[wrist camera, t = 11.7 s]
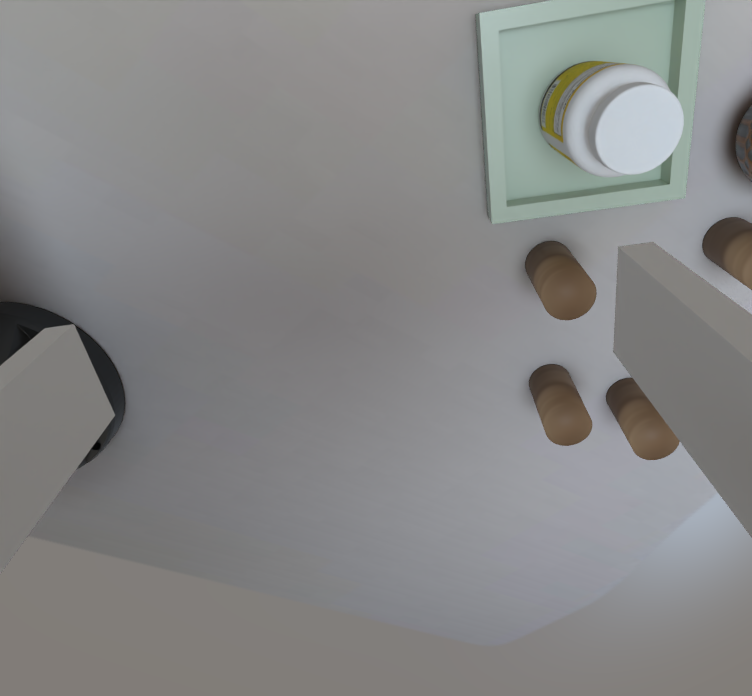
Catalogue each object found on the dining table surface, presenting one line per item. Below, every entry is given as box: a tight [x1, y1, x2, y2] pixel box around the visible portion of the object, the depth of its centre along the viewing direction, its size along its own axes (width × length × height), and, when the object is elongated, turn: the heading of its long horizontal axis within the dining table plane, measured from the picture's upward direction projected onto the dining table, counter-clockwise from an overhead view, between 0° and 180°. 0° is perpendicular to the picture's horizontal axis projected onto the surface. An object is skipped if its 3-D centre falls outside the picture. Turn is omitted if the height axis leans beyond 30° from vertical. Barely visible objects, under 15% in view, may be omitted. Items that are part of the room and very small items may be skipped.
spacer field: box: [525, 217, 752, 460], centre depth 40 cm, size 15×15×6 cm
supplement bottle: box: [539, 61, 684, 177], centre depth 30 cm, size 5×5×10 cm
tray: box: [475, 0, 705, 224], centre depth 34 cm, size 12×12×2 cm
